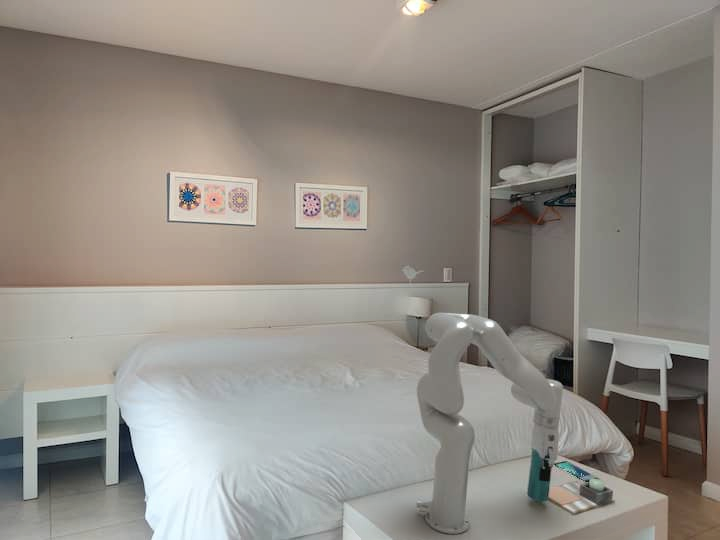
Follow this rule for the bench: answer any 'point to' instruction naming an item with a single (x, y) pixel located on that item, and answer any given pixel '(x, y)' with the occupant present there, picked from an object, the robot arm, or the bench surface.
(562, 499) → the terracotta square
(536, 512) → the bench surface
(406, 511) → the bench surface
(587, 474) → the smartphone
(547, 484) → the beverage bottle
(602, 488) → the button
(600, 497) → the wooden tray
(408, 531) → the bench surface
